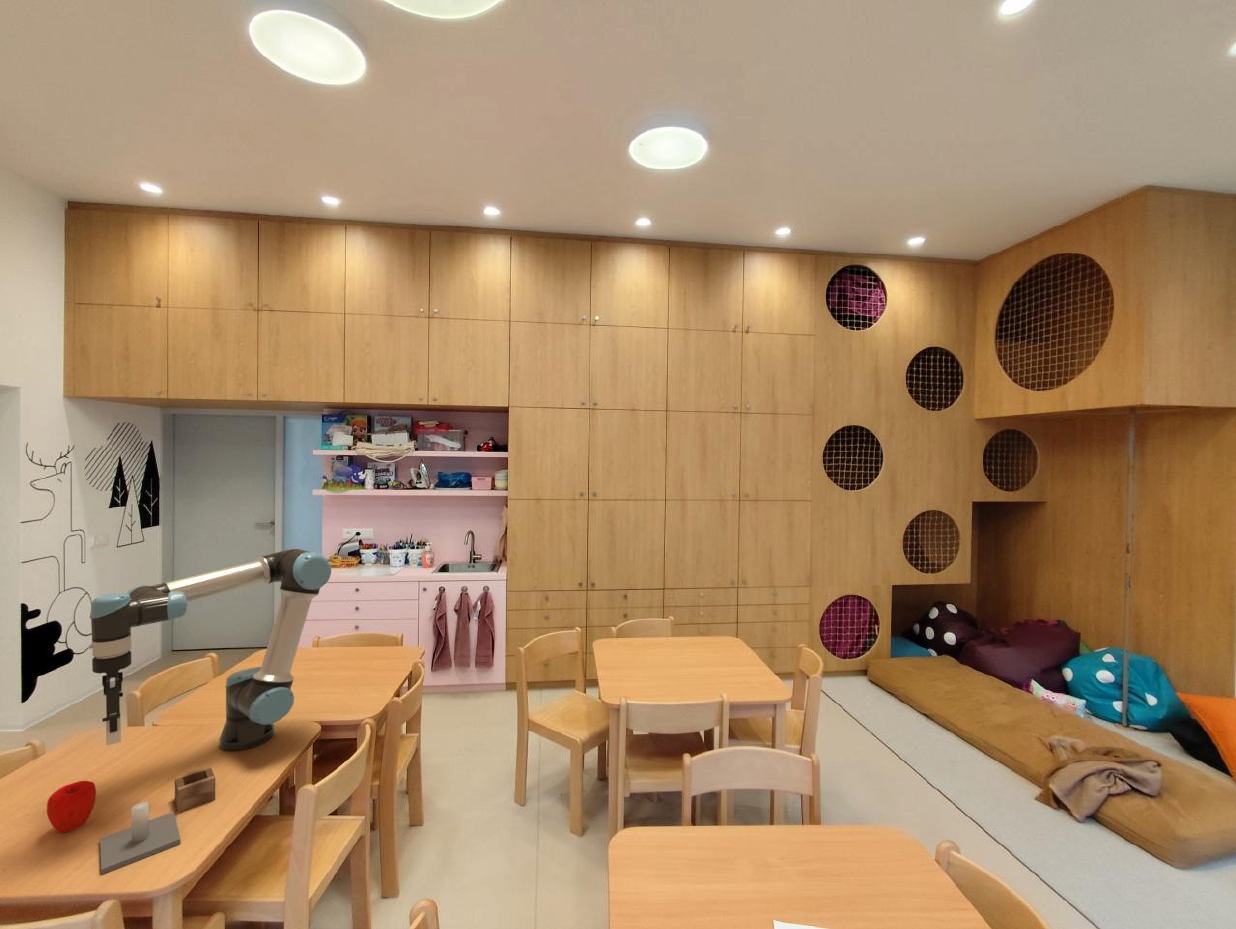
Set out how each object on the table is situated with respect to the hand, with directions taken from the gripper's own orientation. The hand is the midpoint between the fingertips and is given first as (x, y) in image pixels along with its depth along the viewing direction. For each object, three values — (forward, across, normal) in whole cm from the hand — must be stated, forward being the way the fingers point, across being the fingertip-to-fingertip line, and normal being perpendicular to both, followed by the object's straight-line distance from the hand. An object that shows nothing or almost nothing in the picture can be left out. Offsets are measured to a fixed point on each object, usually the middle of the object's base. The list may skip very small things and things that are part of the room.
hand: (113, 733), depth 141 cm
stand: (+22, +19, +4) cm, 29 cm away
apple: (+22, 0, -8) cm, 23 cm away
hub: (+22, +7, +16) cm, 28 cm away
